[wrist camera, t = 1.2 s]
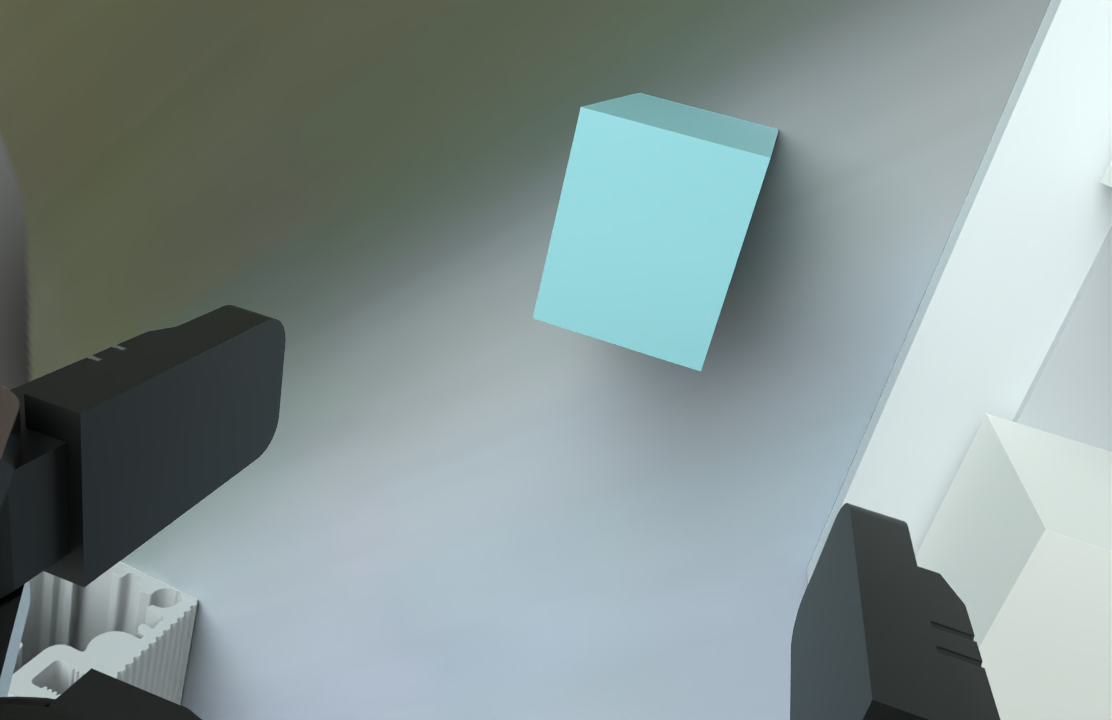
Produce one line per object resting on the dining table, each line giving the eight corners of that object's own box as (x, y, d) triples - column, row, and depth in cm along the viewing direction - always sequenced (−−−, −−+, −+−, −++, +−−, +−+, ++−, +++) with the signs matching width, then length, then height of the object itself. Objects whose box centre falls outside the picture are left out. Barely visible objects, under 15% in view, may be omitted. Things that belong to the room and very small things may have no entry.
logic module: (639, 92, 29) (581, 106, 21) (778, 129, 28) (770, 158, 20) (598, 253, 31) (533, 318, 24) (725, 291, 31) (700, 371, 23)
